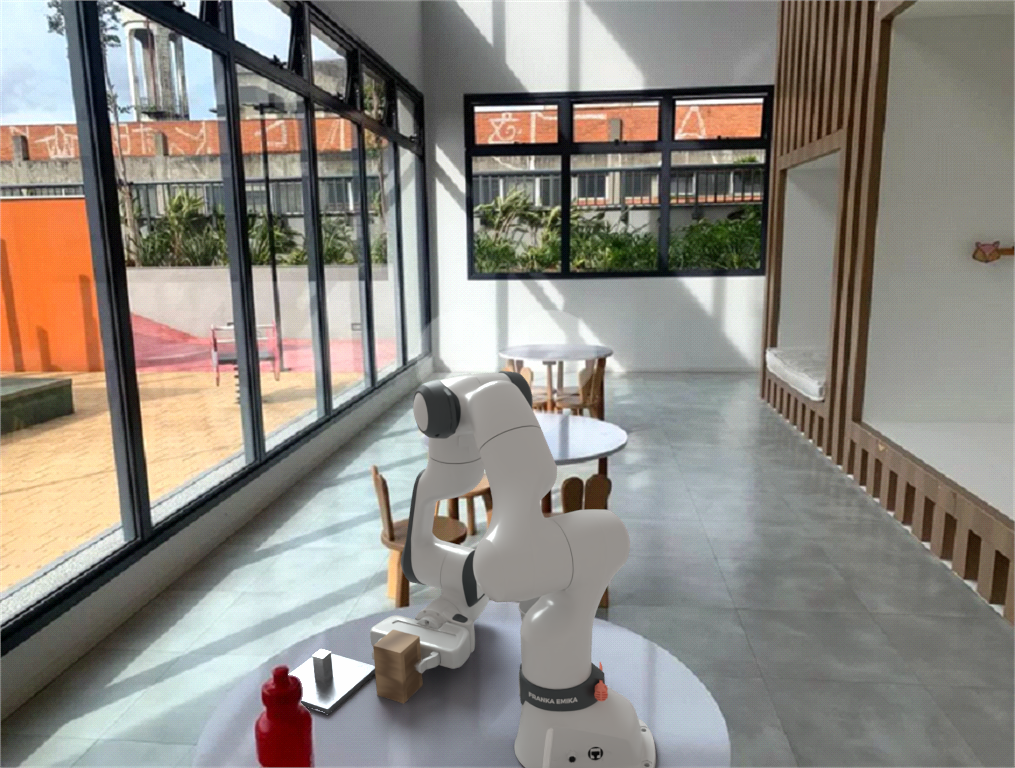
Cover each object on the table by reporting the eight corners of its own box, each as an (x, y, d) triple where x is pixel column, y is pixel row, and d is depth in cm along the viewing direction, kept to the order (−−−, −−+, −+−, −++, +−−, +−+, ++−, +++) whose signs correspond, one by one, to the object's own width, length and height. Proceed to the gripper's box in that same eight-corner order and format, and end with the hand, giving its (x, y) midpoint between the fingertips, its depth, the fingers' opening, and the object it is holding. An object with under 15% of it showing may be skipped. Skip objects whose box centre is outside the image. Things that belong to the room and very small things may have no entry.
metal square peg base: (377, 672, 138) (374, 643, 136) (328, 715, 125) (325, 683, 124) (321, 655, 144) (318, 627, 143) (269, 694, 132) (266, 664, 131)
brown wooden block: (422, 685, 133) (419, 636, 131) (404, 703, 128) (400, 653, 126) (396, 677, 136) (392, 629, 134) (377, 695, 131) (373, 645, 129)
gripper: (393, 601, 146) (349, 634, 134) (480, 622, 137) (441, 659, 125) (395, 629, 147) (352, 665, 135) (481, 652, 138) (443, 692, 126)
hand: (395, 662), depth 130 cm, fingers open, 8 cm apart
